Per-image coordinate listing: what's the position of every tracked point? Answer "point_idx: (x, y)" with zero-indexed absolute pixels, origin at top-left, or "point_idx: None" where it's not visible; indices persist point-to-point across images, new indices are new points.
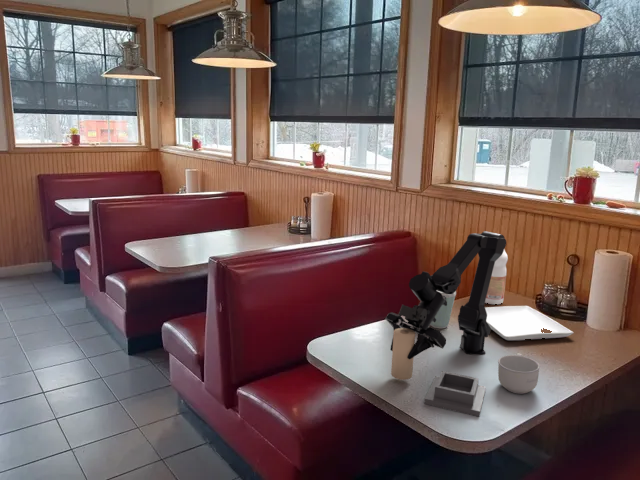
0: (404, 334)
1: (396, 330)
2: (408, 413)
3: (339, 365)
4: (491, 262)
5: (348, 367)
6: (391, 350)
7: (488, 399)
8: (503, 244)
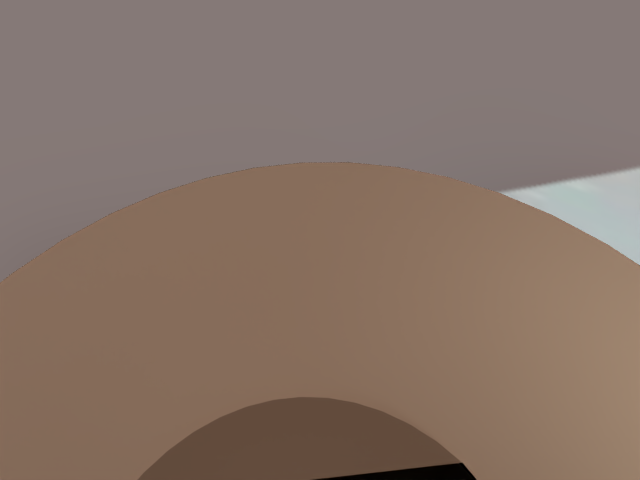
0: (75, 450)
1: (622, 354)
2: None
3: (629, 204)
4: None
5: (598, 237)
6: None
7: None
8: None
